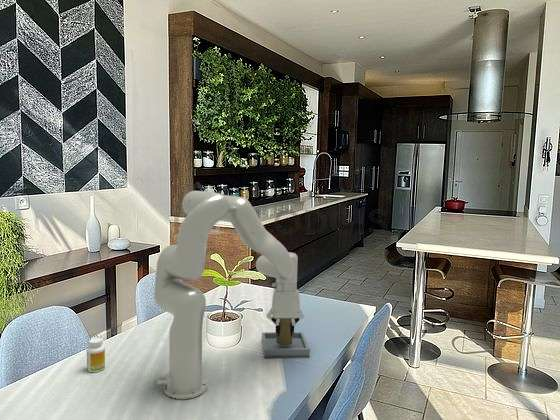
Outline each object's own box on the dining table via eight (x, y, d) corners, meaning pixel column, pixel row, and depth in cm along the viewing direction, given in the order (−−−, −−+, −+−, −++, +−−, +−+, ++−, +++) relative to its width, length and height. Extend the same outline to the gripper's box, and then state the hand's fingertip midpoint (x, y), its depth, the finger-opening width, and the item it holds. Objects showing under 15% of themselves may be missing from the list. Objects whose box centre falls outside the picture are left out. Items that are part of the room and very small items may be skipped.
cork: (290, 345, 160) (291, 316, 159) (274, 344, 161) (275, 314, 160) (293, 339, 166) (294, 311, 165) (277, 337, 167) (278, 309, 166)
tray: (264, 358, 155) (264, 349, 155) (261, 339, 171) (261, 332, 171) (309, 357, 157) (309, 349, 157) (302, 339, 173) (302, 332, 173)
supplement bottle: (108, 367, 145) (108, 338, 144) (95, 374, 140) (94, 344, 139) (96, 363, 147) (96, 335, 146) (83, 370, 143) (82, 341, 142)
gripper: (264, 289, 157) (262, 339, 159) (310, 289, 159) (308, 338, 161) (262, 283, 164) (261, 331, 166) (307, 283, 166) (305, 331, 168)
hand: (284, 334), depth 164 cm, fingers closed on cork, 4 cm apart
